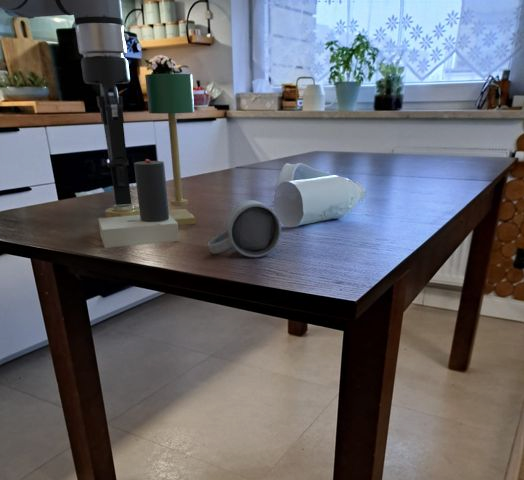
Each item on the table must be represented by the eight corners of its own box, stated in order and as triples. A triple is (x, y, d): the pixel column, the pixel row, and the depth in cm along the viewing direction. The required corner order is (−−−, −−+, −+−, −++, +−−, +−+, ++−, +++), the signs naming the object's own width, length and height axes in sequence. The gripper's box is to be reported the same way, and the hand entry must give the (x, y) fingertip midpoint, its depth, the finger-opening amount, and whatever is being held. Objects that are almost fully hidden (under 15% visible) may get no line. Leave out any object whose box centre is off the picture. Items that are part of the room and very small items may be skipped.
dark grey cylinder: (171, 220, 86) (166, 161, 82) (142, 222, 85) (135, 162, 80) (166, 214, 90) (161, 158, 86) (138, 217, 89) (131, 159, 85)
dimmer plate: (104, 248, 82) (101, 228, 81) (100, 235, 90) (97, 217, 88) (188, 240, 86) (186, 221, 85) (177, 228, 94) (176, 211, 92)
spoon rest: (291, 183, 141) (291, 155, 137) (333, 185, 137) (334, 156, 134) (261, 198, 121) (260, 165, 117) (309, 200, 117) (310, 167, 114)
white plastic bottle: (373, 217, 101) (376, 174, 97) (300, 231, 91) (301, 184, 87) (343, 210, 107) (346, 170, 103) (272, 223, 96) (272, 179, 93)
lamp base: (109, 231, 92) (107, 214, 91) (105, 221, 100) (103, 205, 99) (195, 224, 97) (194, 207, 96) (185, 214, 105) (184, 199, 103)
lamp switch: (115, 219, 94) (114, 207, 93) (113, 215, 97) (112, 204, 96) (135, 217, 95) (134, 206, 94) (133, 213, 98) (131, 202, 97)
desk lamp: (162, 209, 94) (148, 73, 85) (155, 202, 101) (142, 75, 91) (204, 206, 97) (196, 73, 87) (195, 199, 104) (186, 75, 94)
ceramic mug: (272, 242, 84) (271, 193, 80) (282, 256, 77) (281, 203, 73) (206, 247, 82) (203, 197, 79) (210, 261, 75) (206, 207, 72)
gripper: (132, 53, 80) (149, 208, 91) (123, 59, 91) (139, 196, 102) (81, 53, 78) (105, 211, 88) (78, 59, 89) (100, 199, 99)
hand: (123, 203), depth 95 cm, fingers closed
